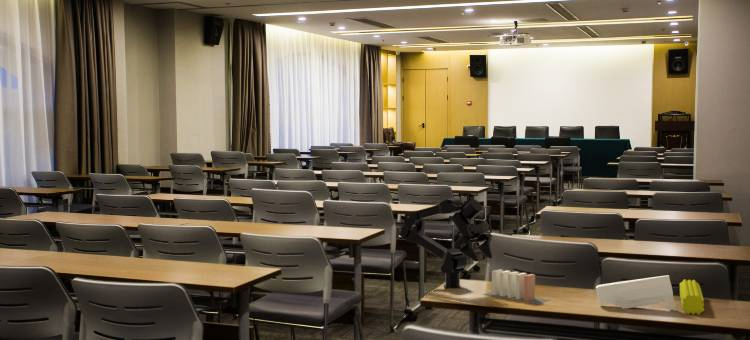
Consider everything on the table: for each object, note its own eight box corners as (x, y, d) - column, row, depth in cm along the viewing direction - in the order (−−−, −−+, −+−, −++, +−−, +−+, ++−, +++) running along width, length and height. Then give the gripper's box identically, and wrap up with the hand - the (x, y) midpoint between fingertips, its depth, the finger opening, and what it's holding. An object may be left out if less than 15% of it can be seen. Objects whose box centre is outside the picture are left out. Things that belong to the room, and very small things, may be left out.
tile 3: (507, 297, 284) (507, 273, 283) (514, 295, 288) (515, 271, 287) (511, 297, 283) (511, 273, 282) (518, 295, 287) (518, 272, 286)
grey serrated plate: (482, 295, 289) (482, 294, 289) (495, 292, 296) (495, 290, 296) (538, 305, 273) (538, 303, 273) (551, 301, 279) (551, 300, 279)
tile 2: (499, 295, 286) (499, 272, 286) (506, 293, 290) (507, 270, 290) (502, 296, 285) (503, 272, 285) (510, 294, 289) (510, 270, 288)
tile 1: (491, 294, 289) (492, 270, 288) (499, 292, 292) (499, 269, 292) (495, 295, 288) (495, 271, 287) (502, 293, 291) (502, 269, 291)
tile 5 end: (523, 300, 279) (524, 275, 279) (531, 298, 283) (531, 273, 282) (527, 300, 278) (527, 276, 278) (534, 298, 282) (535, 274, 281)
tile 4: (515, 298, 282) (516, 274, 281) (522, 296, 285) (523, 272, 285) (519, 299, 280) (519, 274, 280) (526, 297, 284) (526, 273, 284)
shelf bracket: (676, 312, 264) (669, 276, 264) (602, 322, 270) (596, 287, 270) (674, 309, 269) (667, 274, 269) (602, 319, 275) (595, 284, 275)
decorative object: (699, 297, 289) (699, 279, 289) (704, 317, 258) (705, 296, 258) (678, 295, 292) (679, 277, 292) (681, 315, 261) (682, 294, 260)
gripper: (462, 216, 288) (483, 250, 282) (491, 212, 302) (511, 245, 295) (444, 232, 294) (464, 266, 288) (473, 228, 308) (493, 261, 302)
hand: (484, 259), depth 293 cm, fingers open, 9 cm apart
